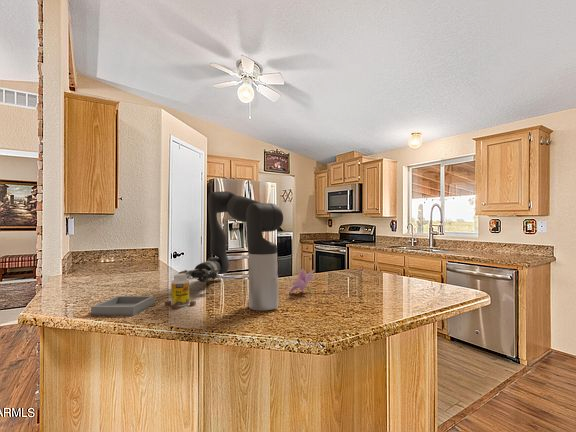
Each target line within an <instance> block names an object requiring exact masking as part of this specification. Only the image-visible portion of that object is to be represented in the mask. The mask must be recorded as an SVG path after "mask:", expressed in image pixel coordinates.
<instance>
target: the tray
mask: <svg viewBox="0 0 576 432" xmlns="http://www.w3.org/2000/svg"><path fill="white" fill-rule="evenodd" d="M155 303H156V297H155V295H117V296H114V297H112V298H109V299H106V300H104V301H102V302H99V303H97V304H95V305H91V306H90V315H91V316H98V317H99V316H101V317H102V316H110V317H111V316H113V317H114V316H115V317H116V315H117V316H119V315H120V316H119V317H121V315H122V316H123V315H124V316H123V317H125V316H127V317H129V316H131V317H132V316H135V315H137V314H139V313H141V312H143V311H144V310H146V309H148V308H150V307H151V306H153V305H155Z"/></svg>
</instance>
